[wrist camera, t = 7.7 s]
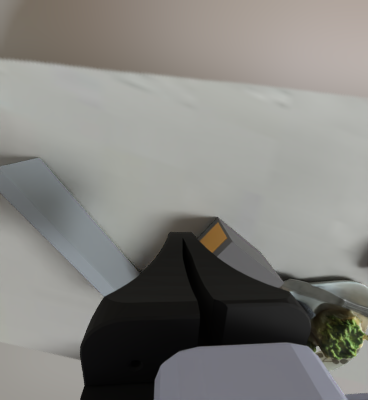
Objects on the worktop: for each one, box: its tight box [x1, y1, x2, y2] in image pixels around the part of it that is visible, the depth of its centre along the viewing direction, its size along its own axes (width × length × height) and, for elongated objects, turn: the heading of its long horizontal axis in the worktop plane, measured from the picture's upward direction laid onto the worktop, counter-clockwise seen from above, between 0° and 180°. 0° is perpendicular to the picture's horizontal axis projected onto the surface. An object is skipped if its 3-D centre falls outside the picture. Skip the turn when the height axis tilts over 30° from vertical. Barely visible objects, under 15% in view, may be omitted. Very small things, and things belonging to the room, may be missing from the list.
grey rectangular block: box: [197, 218, 284, 288], centre depth 22 cm, size 14×7×5 cm, turn 139°
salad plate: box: [279, 279, 368, 371], centre depth 26 cm, size 19×18×5 cm
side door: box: [0, 158, 140, 297], centre depth 19 cm, size 17×2×5 cm, turn 31°
